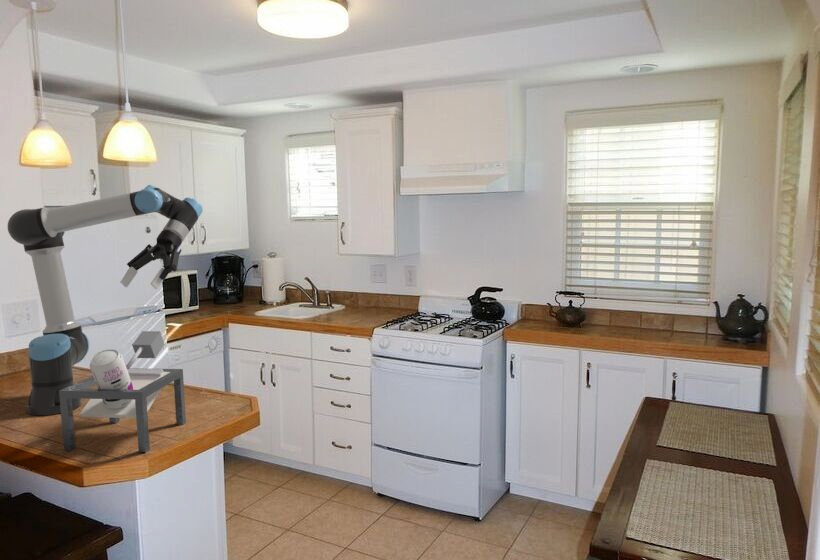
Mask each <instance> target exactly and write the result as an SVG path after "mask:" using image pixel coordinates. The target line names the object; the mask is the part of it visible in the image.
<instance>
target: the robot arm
mask: <svg viewBox="0 0 820 560" xmlns="http://www.w3.org/2000/svg"><path fill="white" fill-rule="evenodd" d="M153 213H158V214H159V215H161V216H163V217H164V218H167V219H169V220H168V221H167V222H166V224H165V225H164V227H163V228H162V230H161V231H160V233H159V234H158V236H157V237H156V243H155V245H153V246H152V245H151V244H148V245H147V244H146V246H145V248H143V250H142V251H141V252H139V253H138V254H137V255H135V256H134V257H133V258H132V259H131V260H130V261H128V262H127V263H126V265H127V266H128V267H129V268H128V269H127V271H126V272H125V275H124V276H123V277H122V278H121V280H120V282H119V283H120V284H121V285H122V286H123V287H124V288H128V287H129V286H130V284H131V283H132V281H133V279H135V277H136V275H137V274H138V271H139V270H140V269H142V268H143V267H145V266H147V265H148V264H149V263H151V262H152V261H156V260H162V267H161V268H160V269H159V271H157V273H156V275H155V276H154V278H153V279H152V281H151V282H150V285H151V286H152V287H153V288H154V289H155V290H158V289H160V286H161V284H162V283H163V282H164V280H165V279H166V278H167V277H168V275H169V274H170V273H172V272H174V273H175V272H176V271H177V270H178V266H179V260H180V259H179V258H180V255H181V253H182V249H181V248H180V246H181V245H182V243H183V242H184V240H185V239H186V238H187V236H188V234H189V233H190V232H191V231H192V228H193V227H194V226H195V224H196V223H197V221H198V220H199V218H200V216H201V215H202V213H203V206H202V204H201V203H200V202H199V201H198V200H197V199H195V198H191V197H185V198H183V199H179V198H177V197H175V196H173V195H171V194H170V193H168V192H166V191H165V190H162V189H161V188H160V187H156V186H155V185H152V184H148V185H147V186H146V187H144V188H142V189H141V190H138V191H133V192H128V193H123V194H118V195H115V196H109V197H105V198H100V199H95V200H91V201H90V200H89V201H86V202H81V203H75V204H71V205H66V206H61V207H56V208H52V209H49V208H48V207H46V206H45V207H44V206H43V207H40V208H34V209H33V208H32V209H31V208H30V209H29V208H28V209H27V208H26V209H21V210H17V211H16V212H14V213H13V214H12V215H11V216H10V218H9V219H8V221H7V231H8V234H9V236H10V237H11V238H12V240H14V241H15V242H16V243H18V244H21V245H23V250H24V252H25V253H26V254H27V255H29V256H30V257H31V260H32V265H33V270H34V275H35V279H36V283H37V288H38V292H39V297H40V301H41V306H42V310H43V315H44V316H43V317H44V320H45V324H46V326H45V327H44V329H43V330H42V335H41V336H37V337H35V338H33V339H31V340H30V342H29V343H28V350H27V351H28V352H27V355H28V360H29V370H30V379H31V382H30V383H31V390H30V394H29V397H28V402H27V405H26V410H27V414H29V415H32V416H50V415H51V416H52V415H57V414H61V409H60V397H59V391H60V390H62V389H64V388H66V387H69V386H71V385H73V384H75V383H74V377H73V375H74V374H73V366H74V365H76V364H78V363H80V362H82V360H83V359H84V358H85V356H87V354H88V353H89V350H90V340H89V338H88V336H87V334H86V333H84V332H83V328H82V325H81V323H80V322H78V321H76V319H75V315H74V311H73V306H72V301H71V297H70V292H69V288H68V286H69V285H68V282H67V276H66V274H65V268H64V267H65V266H64V263H63V258H62V254H61V252H62V251H63V250H64V248H65V243H64V237H63V236H64V235H65V232H68V231H73V230H77V229H81V228H83V229H84V228H88V227H91V226H96V225H100V224H105V223H109V222H115V221H119V220H123V219H128V218H133V217H137V216H143V215H147V214H153ZM81 405H82V400H81V399H77V398H72V408H73V410H75V409H78V408H79V407H81Z"/></svg>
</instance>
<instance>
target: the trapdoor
mask: <svg viewBox="0 0 820 560" xmlns="http://www.w3.org/2000/svg"><path fill="white" fill-rule="evenodd" d="M165 345H166V343H165V341H164V338H163V335H162V332H161V331H156V330H155V331H152V330H151V331H149V330H146V331H145V330H142V331H141V333H140V334H139V335H138V337H137V338H136V339H135V340H134V341H133V343H132V348H133V352H134V355H132V357H131V358H130V360H129V361H128V363H126V364H125V365H126V368H127V371H128V373H129V376H130V379H131V382H132V385H133V388H134V390H139V389H141V388H143V387H145V386H146V385H148V384H150V383H152V382H154V381H155V380H157V379H159V378H161V377H163V376H165V375H166V374H168V373H170V372H163V369H164V368H141V369H129V368H131V367H132V366H133V365H134V363H135V361H136V360H137V359H156V358H157V356H158V355H159V353H160V352H161V350H162V349H163V348H164V346H165ZM162 389H163V388H161V389H160V390H158V391H156V392H154V393H153V394H151V395H149V396H148V397H146V399H147V412H149V410H150V408H151V407H152V405H153V404H154V402H155V400H156V399H157V398H158V395H159V394H160V392H161V391H162ZM78 415H79V417H80V418H120V419H136V406H135V400H133V401H132V402H131V403H130V404H128V405H127V406H125V407H122V408H119V409H111V408H108V407H106V406H105V405H104V403H103V400H102V399H88V402H87V403H86V404H85V405H84V407H83V408H82V409H81V411H80V412H79V414H78Z"/></svg>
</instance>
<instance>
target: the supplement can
mask: <svg viewBox="0 0 820 560" xmlns="http://www.w3.org/2000/svg"><path fill="white" fill-rule="evenodd" d="M126 365H127V364H126V362H125V360H124V356H123V354H121V353H120V352H119V351H118V350H116V349H111V348H110V349H108V348H107V349H103V350H101V351H99V352H97V353H95V354H94V355H92V357H91V359H90V363H89V370H90V372H91V376H93V377H94V380H95V383H96V385H95V386H96V389H119V390H134V388H133V385H132V382H131V379H130V376H129V373H128V371H127V368H126ZM102 400H103V403H104V405H105V406H106V407H108V408H111V409H119V408H122V407H125V406H127V405H128V404H130V403H131V402H132V401H133V399H102Z"/></svg>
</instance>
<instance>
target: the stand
mask: <svg viewBox="0 0 820 560" xmlns="http://www.w3.org/2000/svg"><path fill="white" fill-rule="evenodd" d="M129 369H142V368H136V367H135V368H134V367H133V368H131V367H130V368H129ZM162 369H163V372H170V373H168V374H166V375H165V376H163V377H161V378H159V379H157V380H155V381H154V382H152V383H150V384H148V385H146V386H145V387H143V388H141V389H139V390H119V389H98V388H92V387H94V386H97V385H96V383H95V380H94V377H93V375H91V376H89V377H87V378H85V379H82V380H80V381H77V382H76V383H74V384H73V385H71V386H69V387H66V388H64V389H62V390H60V391H59V397H60V409H61V413H60V420H61V430H62V431H61V432H62V445H63V451H64V452H65V451H66V452H71V451H73V450H75V449H76V436H75V435H76V433H75V423H74V422H75V421H74V409H73V408H72V398H77V399H82V400H84V399H85V400H86V399H87V400H90V399H133V400H135V406H136V418H135V421H136V431H137V448H138V449H137V450H138V453H139V452H145V453H144V454H146V452H147V451H148V452H149V451H150V449H151V445H150V433H149V432H150V431H149V418H148V417H149V416H148V411H147V399H146V397H148V396H149V395H151V394H153V393H154V392H156V391H158V390H160V389H161V388H162V389H163V388H164V387H166V386H168V385H170V384H171V383H173V390H174V405H175V406H174V407H175V409H174V410H175V421H176V423H175V424H177V425H176V426H184V425H185V424H186V423H187V418H186V403H185V402H186V401H185V399H186V398H185V384H184V382H185V381H184V368H162ZM162 389H161V390H162ZM108 418H109V417H108ZM120 419H121V418H109V419H108V420H109V424H118V423H119V422H120ZM148 452H147V453H148Z"/></svg>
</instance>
